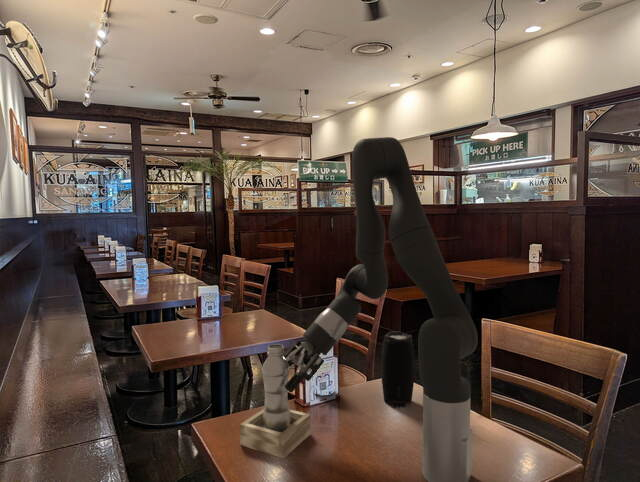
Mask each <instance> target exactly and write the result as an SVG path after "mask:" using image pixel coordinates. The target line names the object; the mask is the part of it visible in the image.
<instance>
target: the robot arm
mask: <svg viewBox="0 0 640 482" xmlns="http://www.w3.org/2000/svg"><path fill="white" fill-rule="evenodd" d="M351 155H352V157H351V168H352V169H351V170H352V181H353V192H354V201H355V211H356V240H355V257H356V258H357V260H359V261H360V263H359V264H356V265H355V266H353V267H352V268H351V269H350V270H349V271H348V272H347V275H346V277H345V279H344V281H343V283H342V285H341V287H340V289H339V291H338V293H337V296H336V297H335V298H334V299H333V300H332V301H331V302H330V303H329V305H328V306H327V307H326V308H325V309H324V310H323V311H322V312H320V314H318V316H317V318H315V320H314V321H312V323H311V325H310V326H308V328H307V329H306V330H305V331H304V333H303V334H302V336H303V338H304V341H303V342H302V341H301V340H300V339H296V341H295V342H294V343H292V344H291V346H290V348H288V350H287V351H286V352H284V354H283V357H284V358H285V359H286V361H287V362H288V364H289V368H290V369H291V368H292V367H294V366H296V365H297V368H296V371H295V373H293V375H292V376H291V377H290V378H289V379H288V382H287V384H286V385H285V388H286V389H287V391H288V393H293V392H294V391H295V390H296V389H297V387H298V386H299V385H300V383H301V382H302V381H307V382H309V381H310V380H312V379H313V375H314V374H315V373H316V372H317V370H318V369H319V368H320V366H321V365H322V364H323V362H324V360H323V359H322V358H321V357H320V356H319V355H320V354H321V353H322V354H323V355H327V353H328V352H329V351H330V350H331V351H332V349H333V347H334V346H335V345H336V344H337V342H338V341H339V340H340V339H341V338H342V336H343V335H344V334H345V332H346V330H347V329H348V328H349V326H350V325H351V324H353V321H354V320H355V319H356V318H357V317H358V315H359V314H360V312H361V311H362V308H361V304H360V303H359V301H358V300H357V295H358V294H359V293H360V294H362V295H363V296H365V297H367V298H368V299H371V300H378V299H380V298H382V297H383V296H384V295H385V293H386V292H387V289H388V286H389V274H388V269H387V268H388V267H387V263H386V259H385V243H386V233H387V234H388V239H389V242H390V244H391V247H392V250H393V254H394V255H395V257H396V261H397V263H398V264H399V266H400V268H401V269H402V270H403V271H404V273H406V275H407V276H408V277H409V279H411V281H413V282H414V284H415V285H416V286H417V287H418V288H419V290H420V291H421V292H422V294H424V297H425V299H426V300H427V303H428V304H429V307H430V309H431V312H432V316H433V317H431V318H429V319H427V320H425V321H424V322H423V324H421V326H420V329H419V331H418V332H419V333H418V337H417V348H418V349H417V354H418V355H417V356H418V374H419V379H420V381H421V384H422V462H421V463H422V465H421V467H422V472H421V473H422V476H423V478H424V479H425V480H426V481H427V482H470V479H471V476H472V457H473V453H472V449H473V448H472V447H473V446H472V445H473V443H472V442H473V441H472V440H473V431H472V429H471V391H472V390H471V383H470V382H469V380H468V379H467V378H466V377H463V376H462V374H461V360H462V359H464V358H466V357H468V356H470V355H472V354H473V353H474V352H475V351H476V349H477V346H478V342H479V336H478V330H477V328H476V325H475V322H474V321H473V319H472V317H471V314H470V313H469V311H468V309H467V307H466V305H465V303H464V302H463V300H462V298H461V296H460V294H459V292H458V290H457V288H456V286H455V283H454V281H453V279H452V276H451V274H450V272H449V269H448V266H447V265H446V262H445V260H444V257H443V255H442V253H441V250H440V247H439V244H438V241H437V239H436V236H435V234H434V231H433V228H432V226H431V224H430V221H429V220H428V218H427V215H426V212H425V209H424V207H423V205H422V202H421V199H420V197H419V194H418V192H417V191H418V190H417V188H416V185H415V181H414V177H413V175H412V172H411V167H410V164H409V161H408V157H407V154H406V152H405V149H404V147H403V145H402V143H401V142H400V141H399V140H398V139H397V138H395V137H390V136H389V137H388V136H386V137H385V136H384V137H372V138H371V137H370V138H369V137H368V138H363V139H360V140H358V141H357V142H356V143H355V145H354V147H353V150H352V154H351ZM379 179H385V180H387V182H388V185H389V189H390V191H391V195H392V208H391V213H390V217H389V223H388V232H386V226H385V221H384V219H383V217H382V215H381V213H380V211H379V209H378V207H377V204H376V203H375V200H374V195H373V186H374V180H379Z"/></svg>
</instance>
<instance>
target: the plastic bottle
mask: <svg viewBox="0 0 640 482" xmlns="http://www.w3.org/2000/svg"><path fill="white" fill-rule="evenodd" d="M284 350H285V349H284V345H283V344H280V343H279V344H278V343H276V344H275V343H274V344H270V345H268V346H267V353H266V354H267V358H266V359H265V361H264V362H263V364H262V366H261V373H262V379H263V387H264V388H263V389H264V408H263V409H264V412H263V423H264V426H265V428H266V429H270V430H274V431H277V432H280V431H284V430H286V429H287V428H288V427H289V425H290V421H291V415H290V410H291V409H290V406H289V405H290V404H289V397H288V393H289V391H288V390H287V389H286V388H285V385H286V384H287V382H288V381H289V380H290V378H289V377H290V370H291V368H290V367H289V364H288V362H287V361H286V359H285V358H284V357H283V355H284V354H285V352H284ZM289 409H290V410H289Z"/></svg>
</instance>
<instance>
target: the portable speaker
mask: <svg viewBox="0 0 640 482" xmlns="http://www.w3.org/2000/svg"><path fill="white" fill-rule="evenodd" d="M414 384H415V352H414V346H413V336H412V334H407V333H404V332H402V331H399V330H398V331H396V330H393V331H389V332H388V333H386V334H385V335H384V336H383V343H382V349H381V386H382V392H383V401H384V402H388V403H389V404H390V406H391V407H393V408H405V407H406V406H407V405H408V404H409V403H411V402H412V400H413V395H414V394H413V393H414V387H415V386H414Z"/></svg>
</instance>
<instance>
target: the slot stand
mask: <svg viewBox="0 0 640 482" xmlns="http://www.w3.org/2000/svg"><path fill="white" fill-rule="evenodd" d="M289 410H290V415H291V421H290V425H289V427H288V428H287V429H286V430H284V431H280V432H277V431H274V430H270V429H266V428H265V426H264V423H263V412H264V408H262V409H261V410H259V411H257V412H256V413H255V414H254V415H252V416H250V417H248V418H247V419H246V420H243V422H241V423H240V424H239V436H240V437H239V440H240V441H239V443H240V446H243V447H245V448H248V449H252V450H256V451H258V452H260V453H265V454H267V455H268V454H269V455H271V456H275V457H278V458H281V459H284V458H285V457H287V456H288V455H289V454H290V453H291V452H293V450H295V449H296V448H297V447H298V446H299V445H300V444H301V443H303V442H304V440H306V439H307V438H308V437H309V436H311V414H310V413H305V412H301V411H298V410H293V409H290V408H289Z"/></svg>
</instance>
